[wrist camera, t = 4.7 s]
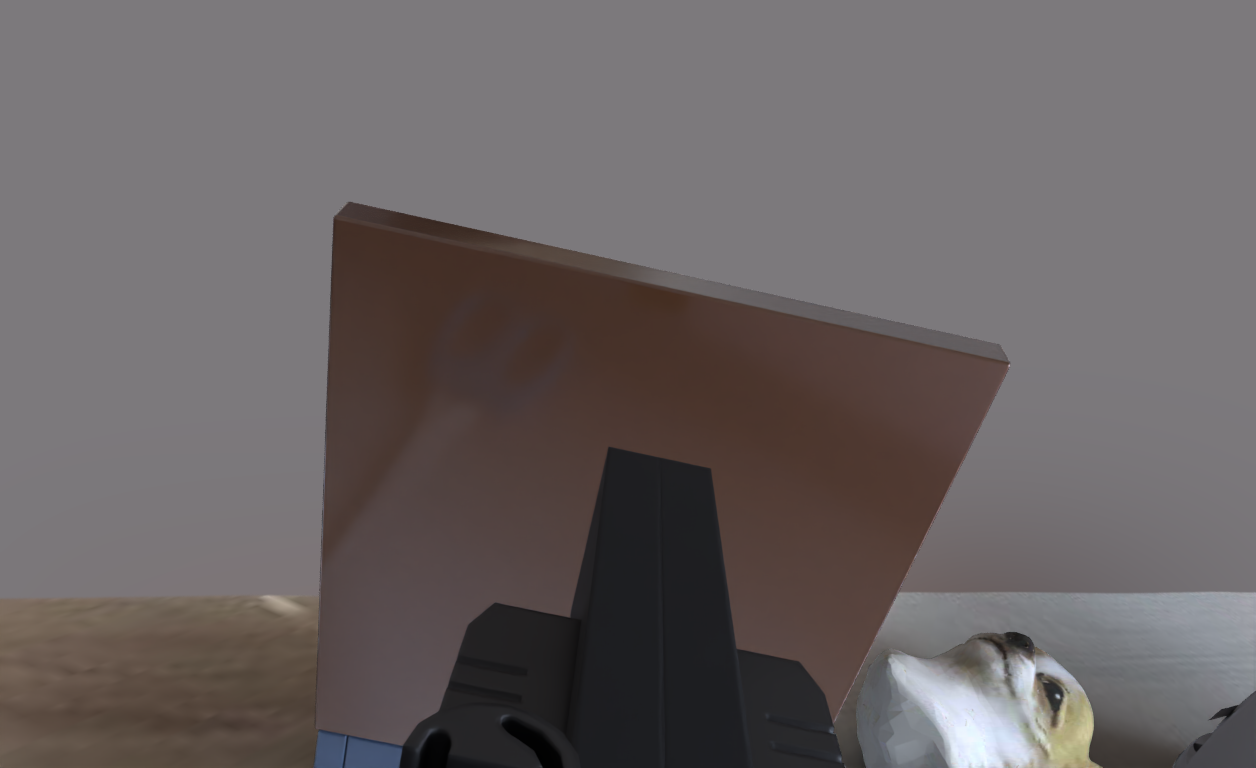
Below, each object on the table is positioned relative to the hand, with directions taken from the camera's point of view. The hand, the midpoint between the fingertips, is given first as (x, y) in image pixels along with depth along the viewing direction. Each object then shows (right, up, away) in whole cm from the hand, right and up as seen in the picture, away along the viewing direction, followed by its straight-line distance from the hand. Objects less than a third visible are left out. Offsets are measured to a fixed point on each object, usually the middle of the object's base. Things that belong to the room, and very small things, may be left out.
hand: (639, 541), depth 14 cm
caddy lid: (-1, -2, +8) cm, 8 cm away
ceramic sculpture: (+16, -17, +32) cm, 40 cm away
